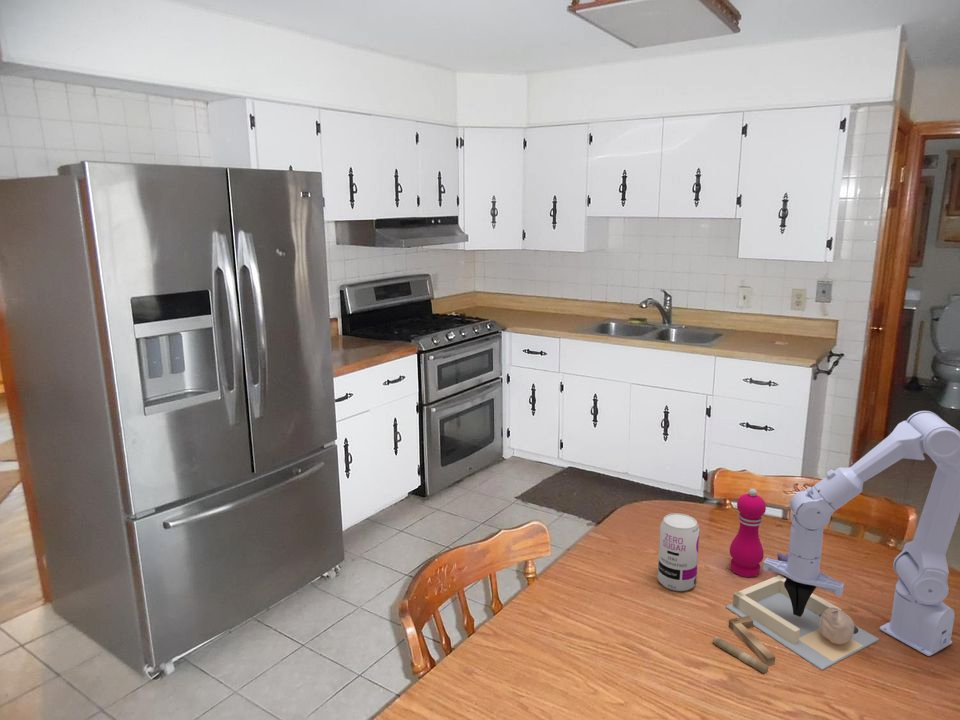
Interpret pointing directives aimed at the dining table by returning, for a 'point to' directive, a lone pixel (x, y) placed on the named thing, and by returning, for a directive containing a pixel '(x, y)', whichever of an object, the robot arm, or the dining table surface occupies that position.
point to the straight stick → (740, 655)
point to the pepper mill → (748, 536)
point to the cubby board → (795, 623)
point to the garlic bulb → (836, 626)
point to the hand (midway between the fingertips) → (798, 613)
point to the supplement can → (678, 552)
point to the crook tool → (751, 638)
